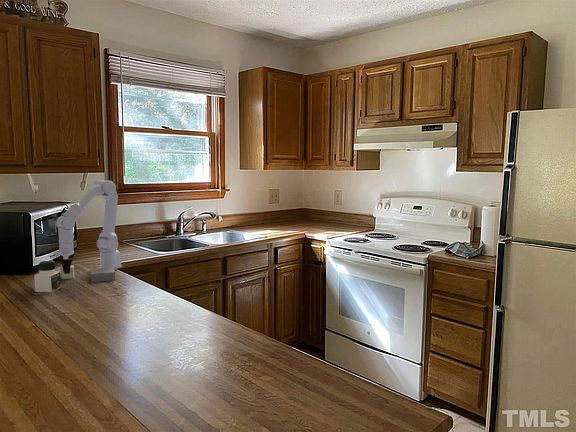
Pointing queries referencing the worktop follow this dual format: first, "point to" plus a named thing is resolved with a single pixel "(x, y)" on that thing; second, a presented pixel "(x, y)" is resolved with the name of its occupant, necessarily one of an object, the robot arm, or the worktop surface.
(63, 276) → the sage block
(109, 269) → the charcoal plinth
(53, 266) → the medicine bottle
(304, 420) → the worktop surface
